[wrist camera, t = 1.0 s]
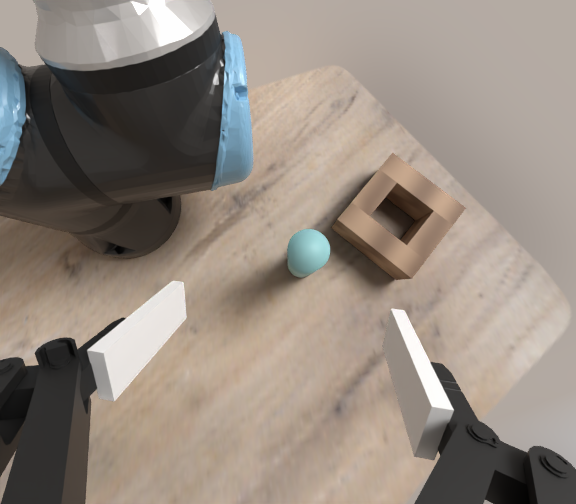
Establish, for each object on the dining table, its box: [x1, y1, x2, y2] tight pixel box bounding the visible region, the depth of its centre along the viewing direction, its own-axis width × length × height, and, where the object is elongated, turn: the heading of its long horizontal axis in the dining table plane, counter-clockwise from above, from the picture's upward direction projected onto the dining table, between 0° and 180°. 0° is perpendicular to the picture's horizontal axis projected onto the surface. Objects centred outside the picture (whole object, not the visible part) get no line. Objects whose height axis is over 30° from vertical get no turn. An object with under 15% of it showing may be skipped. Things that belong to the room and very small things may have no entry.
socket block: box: [331, 153, 466, 280], centre depth 37 cm, size 12×12×5 cm
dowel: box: [287, 229, 330, 278], centre depth 32 cm, size 4×4×14 cm
